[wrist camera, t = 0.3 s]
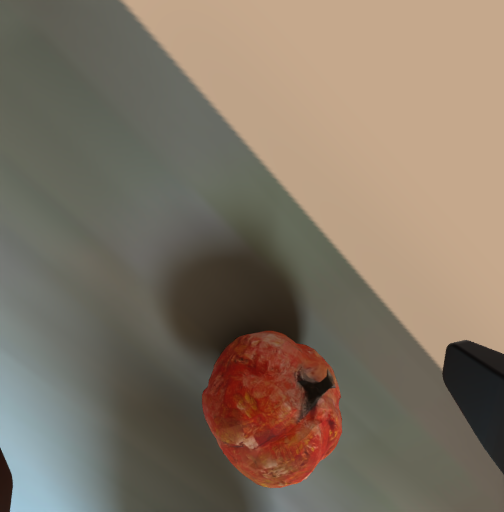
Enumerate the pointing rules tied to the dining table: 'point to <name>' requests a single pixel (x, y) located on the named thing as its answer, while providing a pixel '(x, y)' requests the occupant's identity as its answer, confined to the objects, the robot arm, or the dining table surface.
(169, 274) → the dining table surface
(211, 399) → the pomegranate
